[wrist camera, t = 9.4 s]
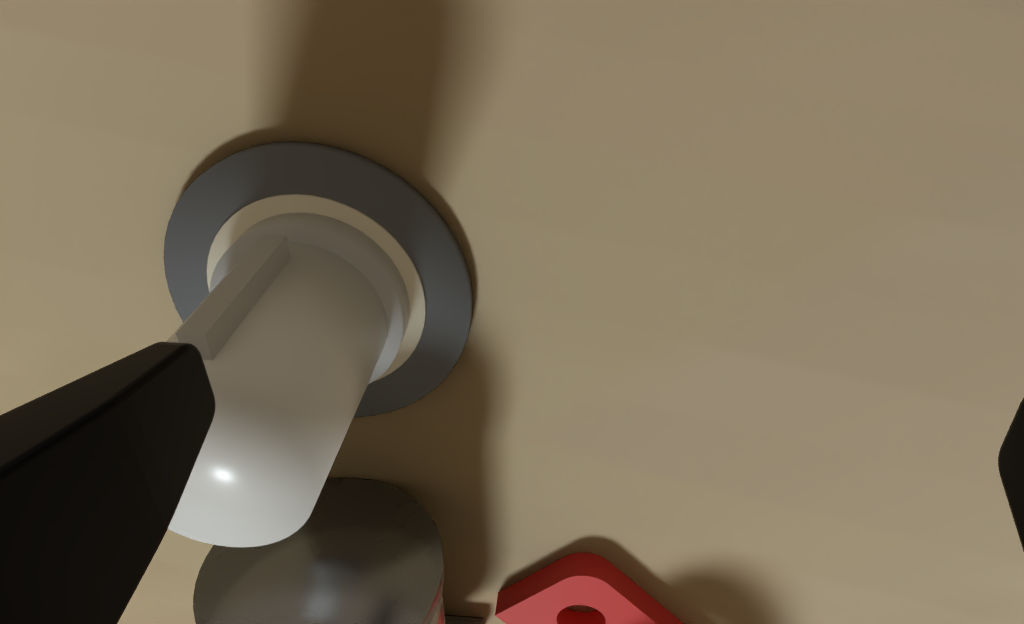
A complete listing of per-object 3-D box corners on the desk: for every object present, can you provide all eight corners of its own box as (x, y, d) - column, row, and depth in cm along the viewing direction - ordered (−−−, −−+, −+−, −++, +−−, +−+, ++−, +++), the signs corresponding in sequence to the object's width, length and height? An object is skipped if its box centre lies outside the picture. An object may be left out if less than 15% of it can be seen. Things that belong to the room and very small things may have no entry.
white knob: (417, 378, 22) (351, 567, 16) (246, 369, 23) (123, 550, 17) (399, 208, 19) (311, 364, 13) (203, 202, 20) (34, 351, 14)
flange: (464, 144, 19) (461, 151, 18) (479, 416, 23) (477, 426, 23) (132, 138, 19) (121, 144, 19) (211, 402, 24) (204, 411, 24)
